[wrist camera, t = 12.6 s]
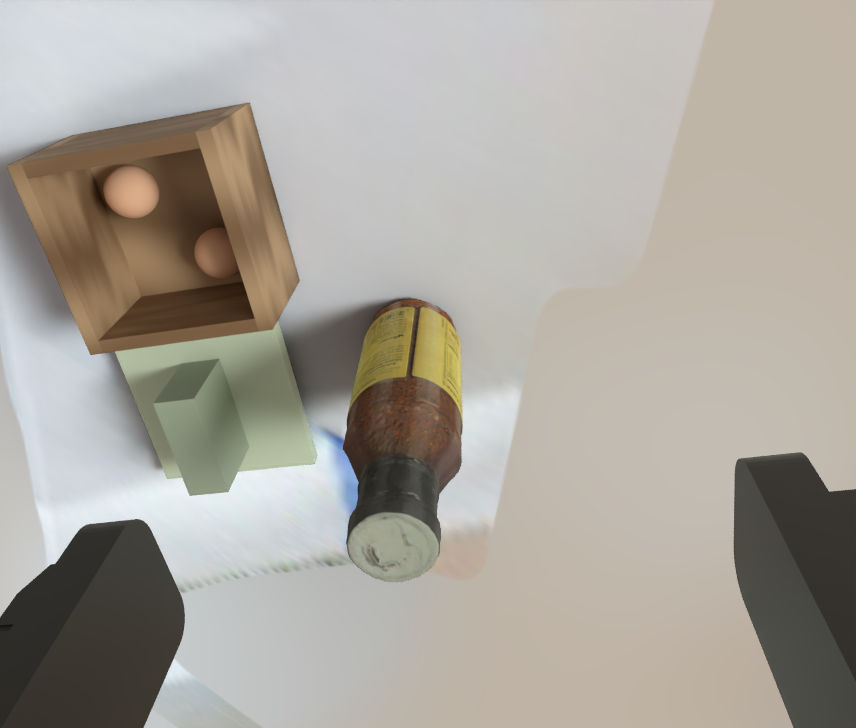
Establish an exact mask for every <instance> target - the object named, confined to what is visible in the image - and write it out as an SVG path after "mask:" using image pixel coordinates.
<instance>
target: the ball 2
mask: <svg viewBox="0 0 856 728" xmlns="http://www.w3.org/2000/svg"><path fill="white" fill-rule="evenodd" d="M194 254H195V259H196V262H197V264H198V266H199V267H200V269H201V270H202V271H203V272H204V273H206V274H207V275H209V276H211V277H214V278H229V277H232V276H234V275H235V274H237V273H238V272H239V267H238V264H237V261H236V258H235V255H234V252H233V249H232V246H231V242H230V239H229V236H228V233H227V230H226V228H212V229H210V230H207V231H206V232H204V233H203V234H202V235H201V236H200V237H199V239H198V240H197V242H196V245H195V250H194Z"/></svg>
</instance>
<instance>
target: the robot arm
mask: <svg viewBox="0 0 856 728" xmlns="http://www.w3.org/2000/svg"><path fill="white" fill-rule="evenodd" d="M734 499H735V502H734V504H735V505H734V559H735V567H736V573H737V579H738V583H739V587H740V591H741V594H742V597H743V600H744V603H745V605H746V608H747V610H748V613H749V616H750V618H751V621H752V623H753V626H754V628H755V630H756V633H757V635H758V639H759V641H760V644H761V646H762V649H763V651H764V654H765V656H766V659H767V661H768V664H769V666H770V669H771V671H772V674H773V676H774V679H775V681H776V684H777V687H778V689H779V692H780V694H781V697H782V699H783V702H784V704H785V707H786V709H787V712H788V715H789V717H790V720H791V722H792V725H793V727H794V728H856V489H854V490H843V491H833V492H829V491H828V489H827V488H826V486H825V485H824V483H823V481H822V480H821V478H820V477H819V475H818V473H817V472H816V470H815V469H814V467H813V466H812V464H811V463H810V461H809V459H808V458H807V457H806V456H805V455H804V454H803V453H790V454H780V455H770V456H760V457H752V458H741V459H738V460H737V463H736V467H735V498H734ZM184 621H185V613H184V605H183V600H182V597H181V595H180V592H179V590H178V588H177V586H176V584H175V581H174V579H173V577H172V575H171V573H170V570H169V568H168V566H167V564H166V562H165V560H164V557H163V555H162V553H161V551H160V549H159V546H158V544H157V542H156V540H155V538H154V536H153V533H152V531H151V529H150V528H149V526H148V525H147V524H146V523H145V522H144V521H142V520H138V519H135V520H125V521H116V522H106V523H96V524H89V525H86V526H84V527H82V528H81V529H80V530H79V531H78V532H77V534H76V535H75V536H74V538H73V539H72V541H71V542H70V544H69V545H68V547H67V548H66V549H65V551H64V552H63V554H62V555H61V557H60V558H59V560H58V561H57V562H56V564H52V565H50V566H49V567H47V568H46V569H45V570H44V571H43V572H42V573H41V574H39V575H38V576H37V577H36V578H35V579H34V580H33V581H32V582H30V583H29V584H28V585H27V586H26V587H25V588H23V589H22V590H21V591H20V592H19V593H18V594H17V595H16V596H15V598H14V599H13V600H12V602H11V603H10V605H9V606H8V607H7V609H6V610H5V612H4V613H3V614H2V616H1V617H0V728H143V727H144V725H145V723H146V721H147V718H148V716H149V714H150V711H151V709H152V707H153V705H154V702H155V700H156V698H157V695H158V693H159V691H160V688H161V686H162V684H163V682H164V679H165V677H166V675H167V672H168V670H169V668H170V666H171V663H172V661H173V659H174V656H175V654H176V651H177V649H178V647H179V645H180V642H181V639H182V636H183V631H184V623H185V622H184Z"/></svg>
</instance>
